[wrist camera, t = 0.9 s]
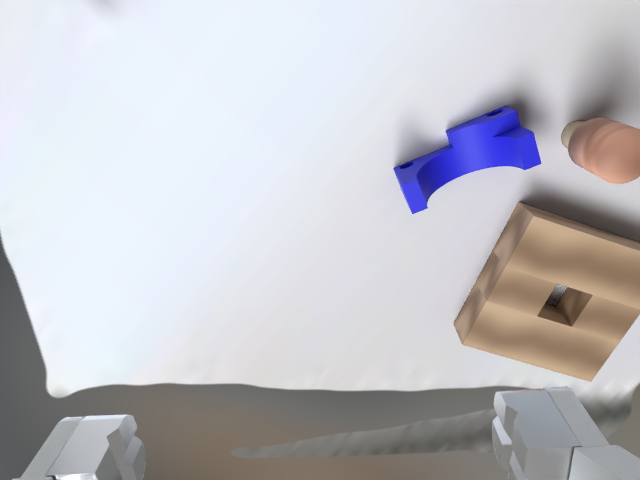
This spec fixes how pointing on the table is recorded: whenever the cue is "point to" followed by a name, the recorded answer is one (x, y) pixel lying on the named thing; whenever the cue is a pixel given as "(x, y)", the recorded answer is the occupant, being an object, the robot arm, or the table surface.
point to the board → (538, 283)
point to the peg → (604, 148)
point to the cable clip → (469, 155)
